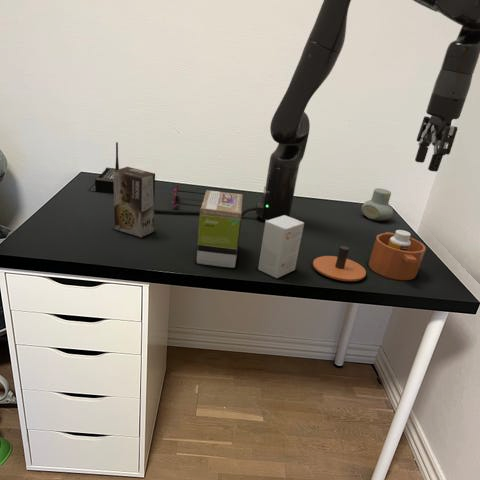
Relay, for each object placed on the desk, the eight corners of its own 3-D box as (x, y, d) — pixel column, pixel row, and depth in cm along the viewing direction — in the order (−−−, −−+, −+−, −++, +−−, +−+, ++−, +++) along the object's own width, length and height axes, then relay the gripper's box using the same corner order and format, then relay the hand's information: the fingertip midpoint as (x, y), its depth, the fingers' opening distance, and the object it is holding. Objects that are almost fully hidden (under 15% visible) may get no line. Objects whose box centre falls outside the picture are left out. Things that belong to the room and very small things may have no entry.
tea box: (201, 241, 130) (206, 188, 122) (237, 246, 130) (244, 193, 123) (195, 264, 117) (200, 206, 109) (235, 269, 118) (243, 212, 110)
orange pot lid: (317, 280, 118) (323, 256, 115) (308, 257, 130) (313, 234, 127) (371, 285, 120) (379, 261, 116) (356, 262, 132) (363, 239, 128)
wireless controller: (101, 177, 168) (100, 126, 159) (141, 182, 169) (142, 132, 160) (86, 194, 151) (84, 138, 142) (130, 199, 152) (130, 144, 143)
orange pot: (379, 282, 122) (388, 254, 118) (360, 253, 138) (367, 227, 133) (427, 287, 123) (437, 259, 119) (402, 257, 139) (411, 232, 135)
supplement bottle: (392, 273, 127) (404, 237, 122) (377, 264, 131) (388, 229, 126) (406, 270, 130) (418, 235, 125) (390, 261, 134) (401, 227, 128)
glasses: (173, 197, 159) (174, 182, 157) (222, 202, 161) (223, 188, 159) (171, 211, 148) (171, 195, 145) (223, 216, 150) (225, 201, 147)
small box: (275, 261, 125) (284, 214, 118) (295, 270, 122) (305, 222, 115) (256, 269, 119) (264, 220, 112) (276, 279, 116) (286, 228, 109)
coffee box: (154, 231, 132) (156, 173, 123) (141, 238, 127) (142, 178, 118) (127, 223, 134) (127, 165, 126) (113, 229, 129) (112, 169, 121)
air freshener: (355, 214, 169) (363, 187, 164) (369, 212, 174) (376, 185, 169) (381, 225, 163) (389, 196, 157) (394, 222, 168) (402, 194, 162)
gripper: (421, 88, 113) (401, 157, 122) (447, 95, 101) (422, 172, 109) (451, 92, 114) (428, 161, 122) (479, 100, 102) (452, 175, 110)
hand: (425, 166), depth 116 cm, fingers open, 8 cm apart
